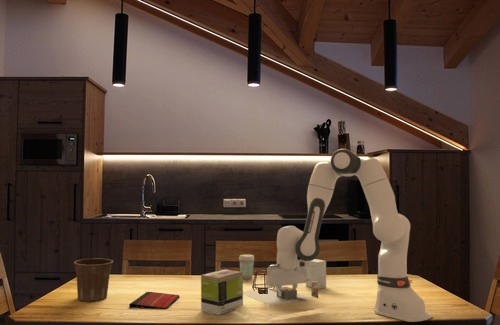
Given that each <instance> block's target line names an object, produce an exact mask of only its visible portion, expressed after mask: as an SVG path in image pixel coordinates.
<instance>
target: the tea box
mask: <svg viewBox="0 0 500 325" xmlns="http://www.w3.org/2000/svg"><path fill="white" fill-rule="evenodd" d="M243 281H244V280H243V272H240V270H239V271H238V270H232V269H225V268H224V269H222V270H221V269H220V270H216V271H212V272H208V273H205V274H201V275H200V304H201V305H200V306H201V307H200V310H201V311H202V312H204V313H207V314H212V315H215V316H221V315H223V314H227V313H229V312H231V311H232V312H233V311H235V310H236V309H235V308H236V307H239V306H241V305H242V306H243V304H244V294H243V291H244V289H243V288H244V284H243V283H244V282H243Z"/></svg>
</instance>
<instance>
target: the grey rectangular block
mask: <svg viewBox="0 0 500 325" xmlns="http://www.w3.org/2000/svg"><path fill="white" fill-rule="evenodd" d="M281 291H282V292H283V296H281V298H284V299H286V300H291V299H297V293H298V290H297V289H296V290H295V289H292V287H289V286H281ZM277 296H278V291H277ZM278 297H280V296H278Z"/></svg>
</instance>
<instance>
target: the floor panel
mask: <svg viewBox="0 0 500 325" xmlns="http://www.w3.org/2000/svg"><path fill="white" fill-rule="evenodd" d="M254 290H255V289H251V290H243V296H244V295H245V296H246V297H249V298H251V299H254V300H255V301H258V302H261V303H263V304H265V305H268V306H270V307H272V306H277V305H283V304H290V303H297V302H302V301H307V300H308V301H309V300H313V298H311V297H309V296H306V295H303V294H300V293H298V292H297V299H291V300H286V299H284V298H281V297H278V296H277V289H276V287H275V288H274V289H273V290H272V289H269V292H268V294H259V293H258V292H257V291H254Z"/></svg>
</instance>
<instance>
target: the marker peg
mask: <svg viewBox="0 0 500 325" xmlns="http://www.w3.org/2000/svg"><path fill="white" fill-rule="evenodd" d="M310 288H311V296H312V297H315V298H319V289H318V281H312V287H310Z"/></svg>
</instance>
